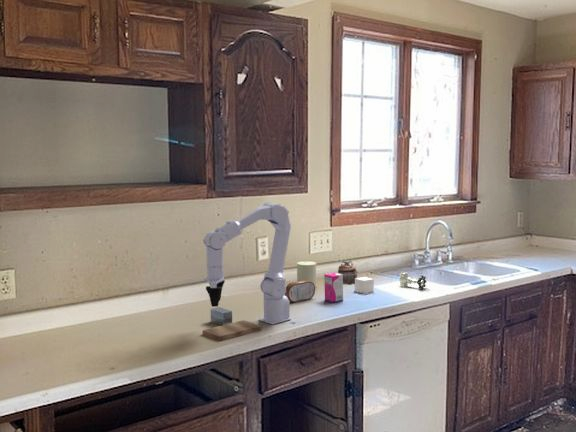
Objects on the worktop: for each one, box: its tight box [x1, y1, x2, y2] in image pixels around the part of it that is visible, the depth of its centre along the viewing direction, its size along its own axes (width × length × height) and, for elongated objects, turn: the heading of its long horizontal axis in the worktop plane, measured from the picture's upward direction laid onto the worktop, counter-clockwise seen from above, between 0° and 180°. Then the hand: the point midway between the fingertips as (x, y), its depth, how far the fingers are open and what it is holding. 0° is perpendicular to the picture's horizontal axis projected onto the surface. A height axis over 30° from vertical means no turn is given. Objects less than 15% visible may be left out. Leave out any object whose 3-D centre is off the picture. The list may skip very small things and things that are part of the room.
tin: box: [285, 280, 316, 303], centre depth 249 cm, size 15×3×8 cm, turn 126°
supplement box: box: [323, 272, 344, 304], centre depth 248 cm, size 6×6×12 cm
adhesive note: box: [354, 276, 375, 294], centre depth 264 cm, size 6×6×6 cm
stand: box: [202, 319, 262, 342], centre depth 205 cm, size 18×10×2 cm, turn 132°
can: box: [296, 260, 317, 289], centre depth 273 cm, size 9×9×12 cm
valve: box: [399, 271, 427, 290], centre depth 271 cm, size 7×7×12 cm
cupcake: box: [337, 260, 359, 284], centre depth 285 cm, size 10×10×10 cm
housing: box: [210, 306, 233, 326], centre depth 217 cm, size 4×8×5 cm, turn 43°
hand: (216, 303), depth 207 cm, fingers open, 7 cm apart
